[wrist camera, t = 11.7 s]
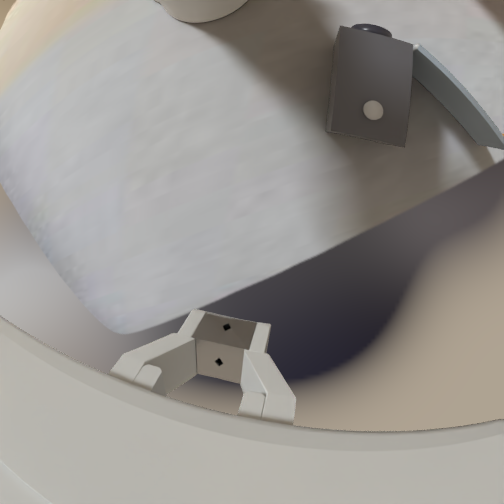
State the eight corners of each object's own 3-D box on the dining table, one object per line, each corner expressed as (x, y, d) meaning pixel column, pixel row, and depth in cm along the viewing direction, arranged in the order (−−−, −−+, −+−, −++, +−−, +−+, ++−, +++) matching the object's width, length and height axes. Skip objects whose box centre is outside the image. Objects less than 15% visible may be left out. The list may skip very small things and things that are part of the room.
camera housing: (334, 36, 27) (341, 11, 20) (393, 50, 26) (414, 31, 19) (325, 131, 33) (331, 130, 25) (385, 144, 32) (406, 147, 24)
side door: (394, 61, 27) (414, 46, 20) (400, 53, 26) (420, 38, 19) (477, 144, 28) (507, 150, 21) (482, 137, 27) (512, 141, 21)
